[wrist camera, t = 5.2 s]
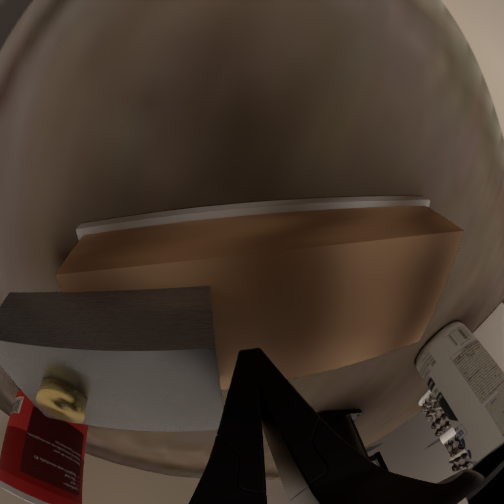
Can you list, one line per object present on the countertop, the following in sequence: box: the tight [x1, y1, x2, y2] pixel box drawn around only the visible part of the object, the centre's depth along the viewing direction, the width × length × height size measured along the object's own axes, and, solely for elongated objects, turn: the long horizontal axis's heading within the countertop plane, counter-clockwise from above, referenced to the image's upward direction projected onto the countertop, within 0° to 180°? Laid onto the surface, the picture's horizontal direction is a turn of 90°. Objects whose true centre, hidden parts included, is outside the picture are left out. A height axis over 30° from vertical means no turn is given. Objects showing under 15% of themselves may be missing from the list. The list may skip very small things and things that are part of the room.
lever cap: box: [0, 285, 224, 431], centre depth 7 cm, size 8×5×3 cm, turn 88°
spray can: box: [415, 322, 504, 465], centre depth 12 cm, size 7×7×20 cm
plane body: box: [55, 196, 464, 390], centre depth 11 cm, size 17×8×4 cm, turn 91°
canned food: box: [0, 389, 88, 504], centre depth 12 cm, size 8×8×11 cm
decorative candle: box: [418, 389, 473, 472], centre depth 19 cm, size 9×9×25 cm
